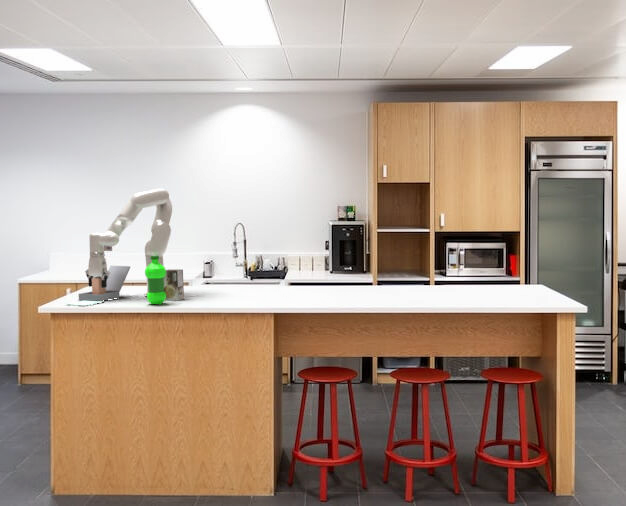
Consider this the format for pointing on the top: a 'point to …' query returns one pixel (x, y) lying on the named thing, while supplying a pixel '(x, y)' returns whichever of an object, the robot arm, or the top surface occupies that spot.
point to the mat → (84, 303)
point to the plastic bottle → (155, 281)
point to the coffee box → (174, 284)
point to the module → (97, 286)
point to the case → (109, 285)
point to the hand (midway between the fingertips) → (97, 286)
